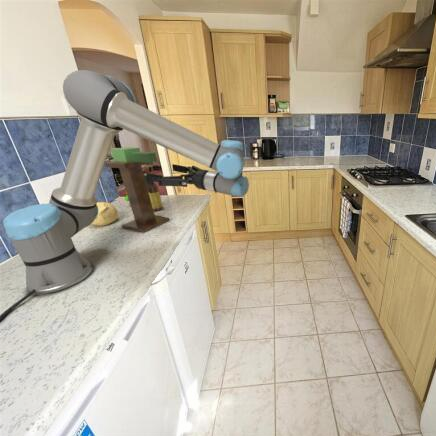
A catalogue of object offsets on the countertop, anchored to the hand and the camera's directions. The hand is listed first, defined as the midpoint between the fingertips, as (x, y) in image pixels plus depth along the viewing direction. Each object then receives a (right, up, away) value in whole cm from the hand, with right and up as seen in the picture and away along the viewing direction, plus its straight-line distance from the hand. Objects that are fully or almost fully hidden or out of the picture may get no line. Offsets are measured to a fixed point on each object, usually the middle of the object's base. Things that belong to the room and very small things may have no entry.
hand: (161, 171), depth 96 cm
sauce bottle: (-22, -14, +37) cm, 45 cm away
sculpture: (-39, -21, +22) cm, 49 cm away
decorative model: (-37, -10, +47) cm, 61 cm away
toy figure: (-15, +6, +6) cm, 17 cm away
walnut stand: (-17, -21, +19) cm, 33 cm away
